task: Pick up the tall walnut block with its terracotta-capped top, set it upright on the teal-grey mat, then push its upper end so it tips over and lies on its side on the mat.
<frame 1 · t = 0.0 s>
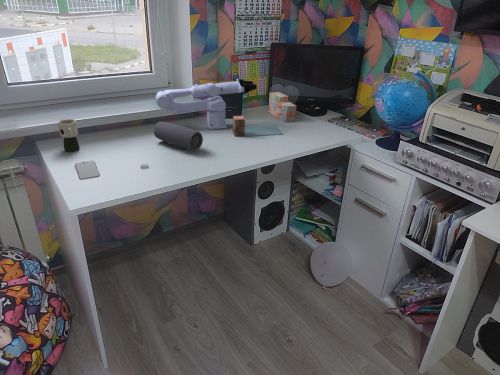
hand: (254, 85, 196), 22 cm above the table, tool horizontal, fingers open, 7 cm apart
smartphone: (87, 172, 147), on the table
walnut block: (238, 134, 191), on the table
character mug: (72, 150, 165), on the table
stack of blocks: (281, 117, 223), on the table
bluetooth speaker: (178, 146, 174), on the table
teal-grey mat: (261, 131, 198), on the table
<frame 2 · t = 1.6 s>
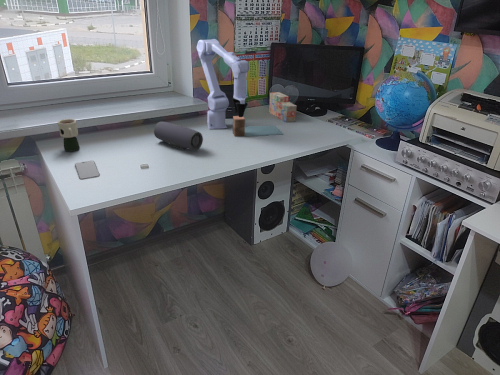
hand: (239, 114, 186), 10 cm above the table, tool pointing down, fingers open, 7 cm apart
nothing on the table moved.
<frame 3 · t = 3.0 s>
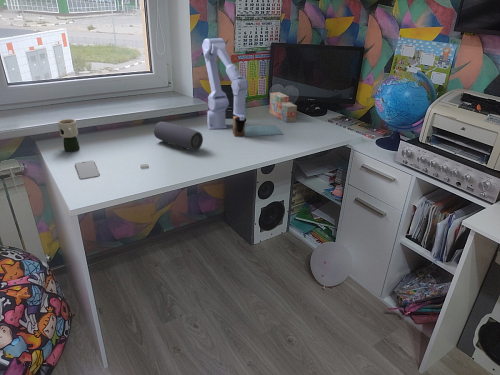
hand: (238, 130, 190), 2 cm above the table, tool pointing down, fingers closed on walnut block, 5 cm apart
walnut block: (238, 134, 191), on the table, touching gripper
everything else where it was.
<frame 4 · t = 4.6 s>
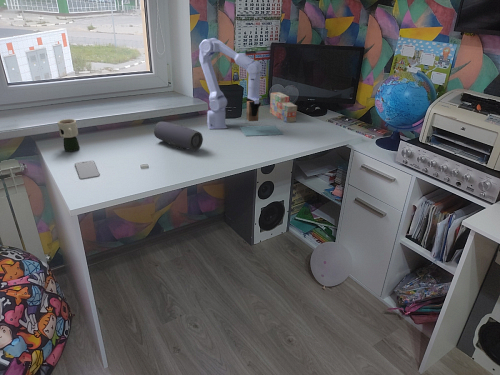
hand: (252, 114, 191), 9 cm above the table, tool pointing down, fingers closed on walnut block, 5 cm apart
walnut block: (252, 119, 193), point 7 cm above the table, touching gripper
everything else where it was.
when the fingers open (4 cm above the table, at t = 6.4 s): walnut block stays where it is, resting on teal-grey mat.
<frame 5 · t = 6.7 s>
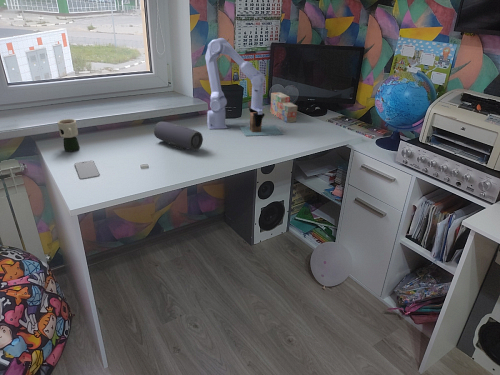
hand: (255, 124, 195), 4 cm above the table, tool pointing down, fingers open, 7 cm apart
walnut block: (255, 130, 197), resting on teal-grey mat
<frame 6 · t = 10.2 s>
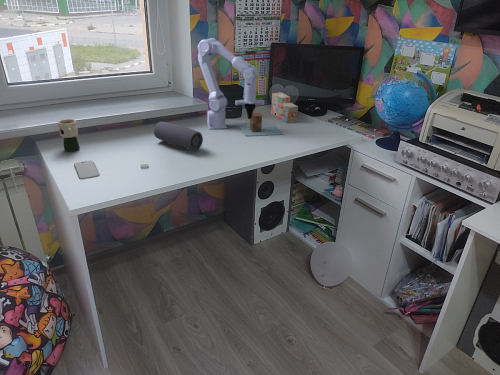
hand: (249, 118, 193), 7 cm above the table, tool pointing down, fingers closed
walnut block: (255, 130, 197), resting on teal-grey mat, touching gripper
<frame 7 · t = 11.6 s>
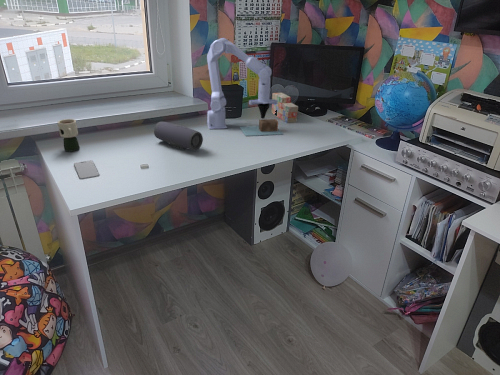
hand: (262, 118, 194), 7 cm above the table, tool pointing down, fingers closed
walnut block: (260, 125, 196), point 3 cm above the table, tilted 90°, touching teal-grey mat
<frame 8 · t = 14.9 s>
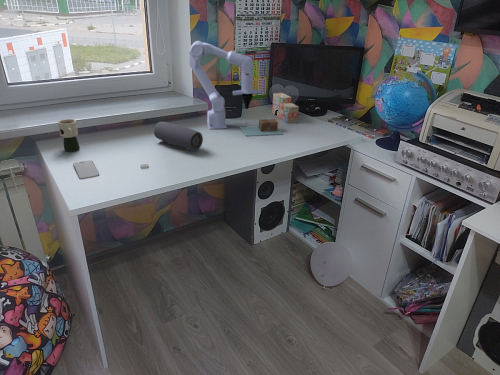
hand: (246, 108, 197), 10 cm above the table, tool pointing down, fingers closed
at the end: walnut block tilted 90°; walnut block inside the target area on the teal-grey mat (1.1 cm from its centre), point 2.9 cm above the teal-grey mat's base; the gripper is holding nothing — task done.
